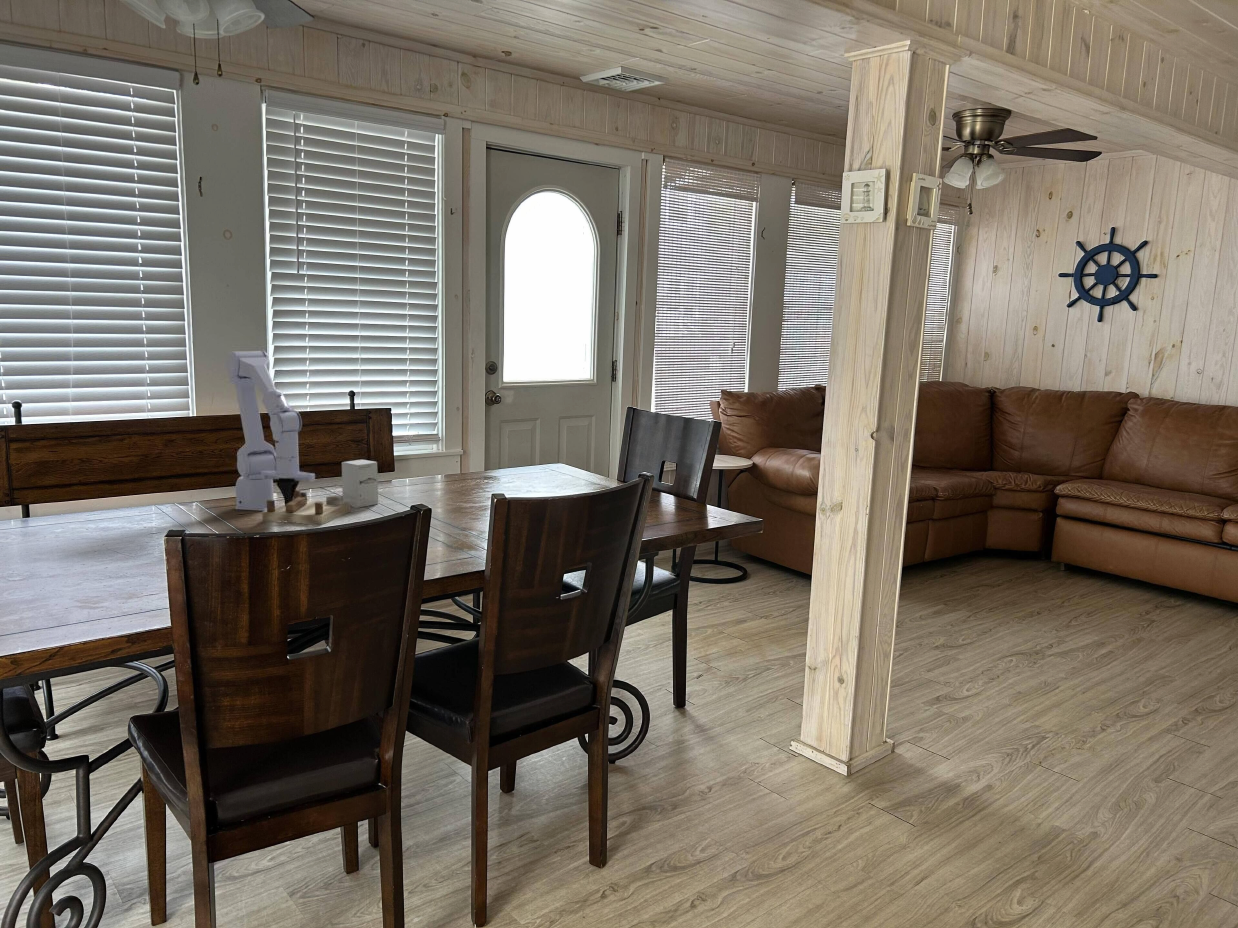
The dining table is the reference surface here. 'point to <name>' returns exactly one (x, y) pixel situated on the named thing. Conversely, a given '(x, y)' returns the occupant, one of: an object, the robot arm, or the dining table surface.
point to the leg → (297, 503)
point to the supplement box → (360, 483)
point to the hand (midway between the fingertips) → (289, 506)
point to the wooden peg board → (308, 511)
